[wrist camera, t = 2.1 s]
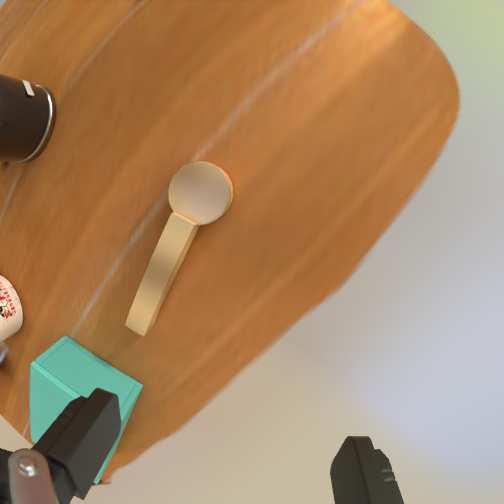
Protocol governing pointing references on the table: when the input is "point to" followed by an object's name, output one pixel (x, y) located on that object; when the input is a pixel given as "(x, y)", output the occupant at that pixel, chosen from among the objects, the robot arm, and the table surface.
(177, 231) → the spoon
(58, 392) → the lunchbox lid
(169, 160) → the table surface
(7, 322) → the teacup with lid
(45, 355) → the box
